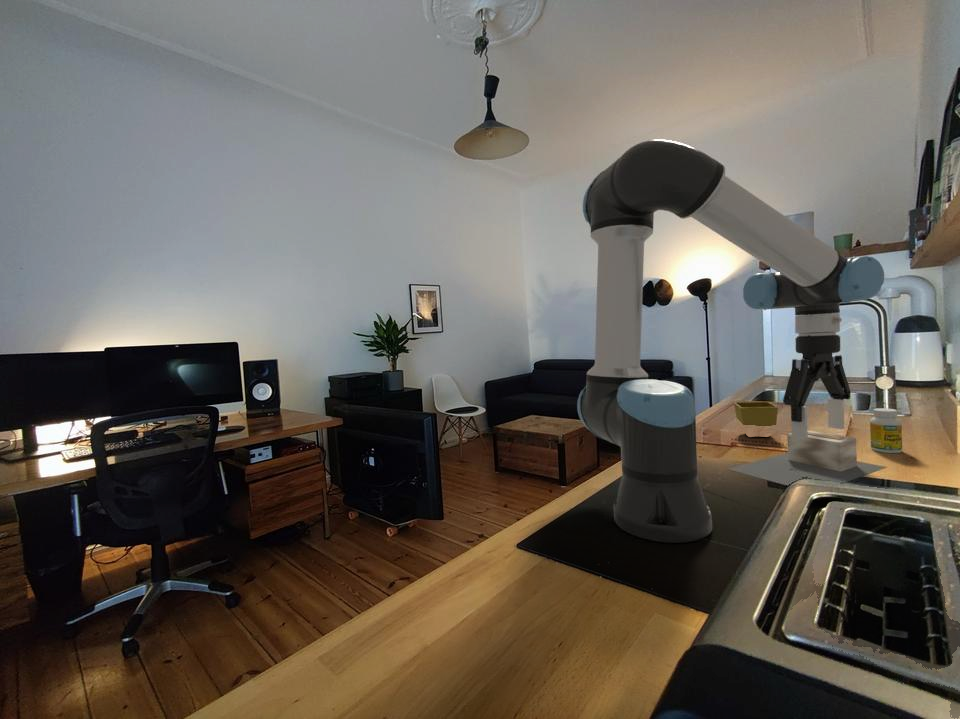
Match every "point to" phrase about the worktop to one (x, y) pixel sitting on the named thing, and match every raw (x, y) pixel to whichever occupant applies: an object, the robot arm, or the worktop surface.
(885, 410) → the supplement bottle
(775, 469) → the mat
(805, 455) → the pale grey rectangular box
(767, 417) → the flower pot
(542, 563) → the worktop surface
